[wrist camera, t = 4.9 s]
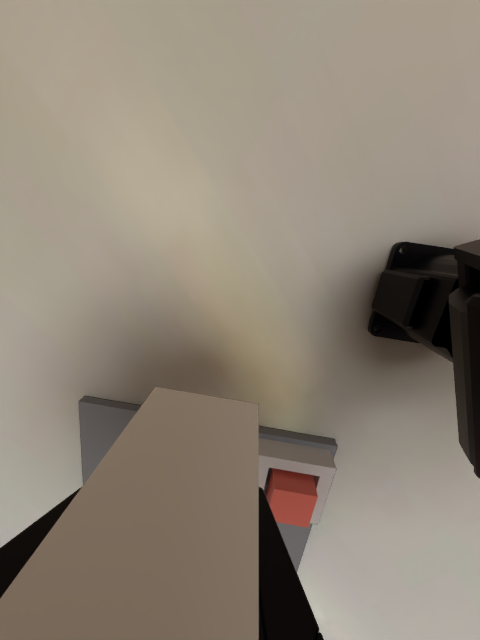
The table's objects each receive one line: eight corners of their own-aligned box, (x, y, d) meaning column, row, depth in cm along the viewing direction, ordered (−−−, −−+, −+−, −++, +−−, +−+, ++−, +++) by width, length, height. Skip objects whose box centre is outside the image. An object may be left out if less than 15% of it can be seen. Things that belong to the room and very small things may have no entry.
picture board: (334, 439, 21) (344, 464, 19) (287, 587, 27) (290, 621, 25) (84, 395, 22) (62, 415, 19) (91, 549, 28) (75, 579, 25)
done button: (312, 472, 20) (317, 496, 18) (303, 501, 21) (308, 527, 19) (272, 465, 20) (274, 488, 18) (265, 495, 21) (266, 520, 19)
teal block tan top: (258, 404, 9) (257, 1076, 2) (243, 483, 11) (203, 1094, 3) (155, 386, 10) (-257, 949, 2) (151, 467, 11) (-115, 1016, 3)
